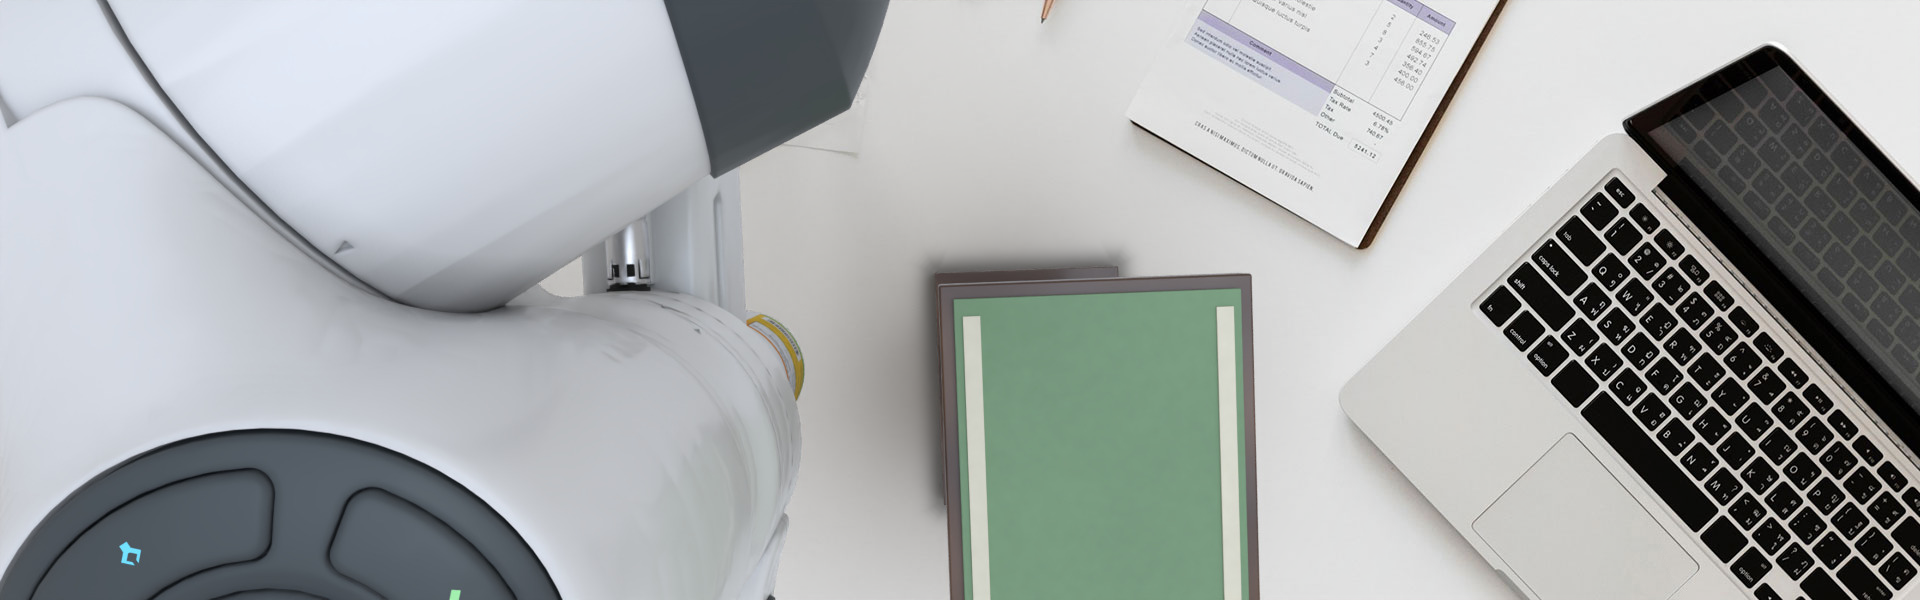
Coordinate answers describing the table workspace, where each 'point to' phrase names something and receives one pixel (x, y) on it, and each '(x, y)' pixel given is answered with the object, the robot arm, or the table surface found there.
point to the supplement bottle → (780, 347)
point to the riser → (1071, 284)
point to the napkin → (1102, 446)
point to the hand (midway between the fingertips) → (726, 384)
